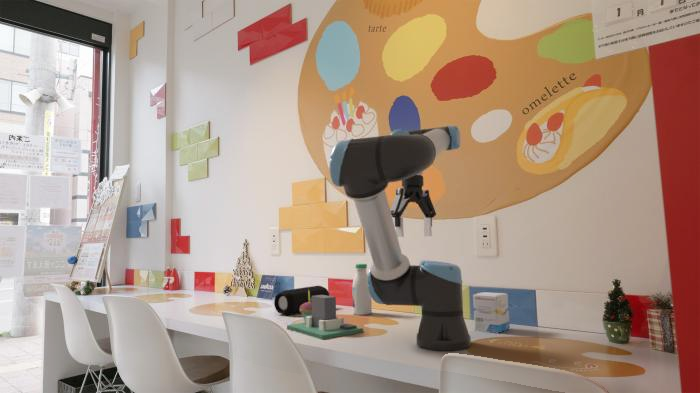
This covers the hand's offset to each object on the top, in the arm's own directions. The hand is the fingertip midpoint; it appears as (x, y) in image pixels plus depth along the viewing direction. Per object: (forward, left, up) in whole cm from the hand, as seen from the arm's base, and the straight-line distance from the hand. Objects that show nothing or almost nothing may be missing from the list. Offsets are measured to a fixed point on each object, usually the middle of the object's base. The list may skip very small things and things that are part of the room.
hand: (414, 236), depth 155 cm
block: (+18, +26, -29) cm, 43 cm away
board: (+18, +26, -31) cm, 44 cm away
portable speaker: (+58, +10, -31) cm, 66 cm away
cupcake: (+36, +20, -31) cm, 51 cm away
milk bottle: (+35, -4, -31) cm, 47 cm away
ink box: (-19, -15, -31) cm, 39 cm away
